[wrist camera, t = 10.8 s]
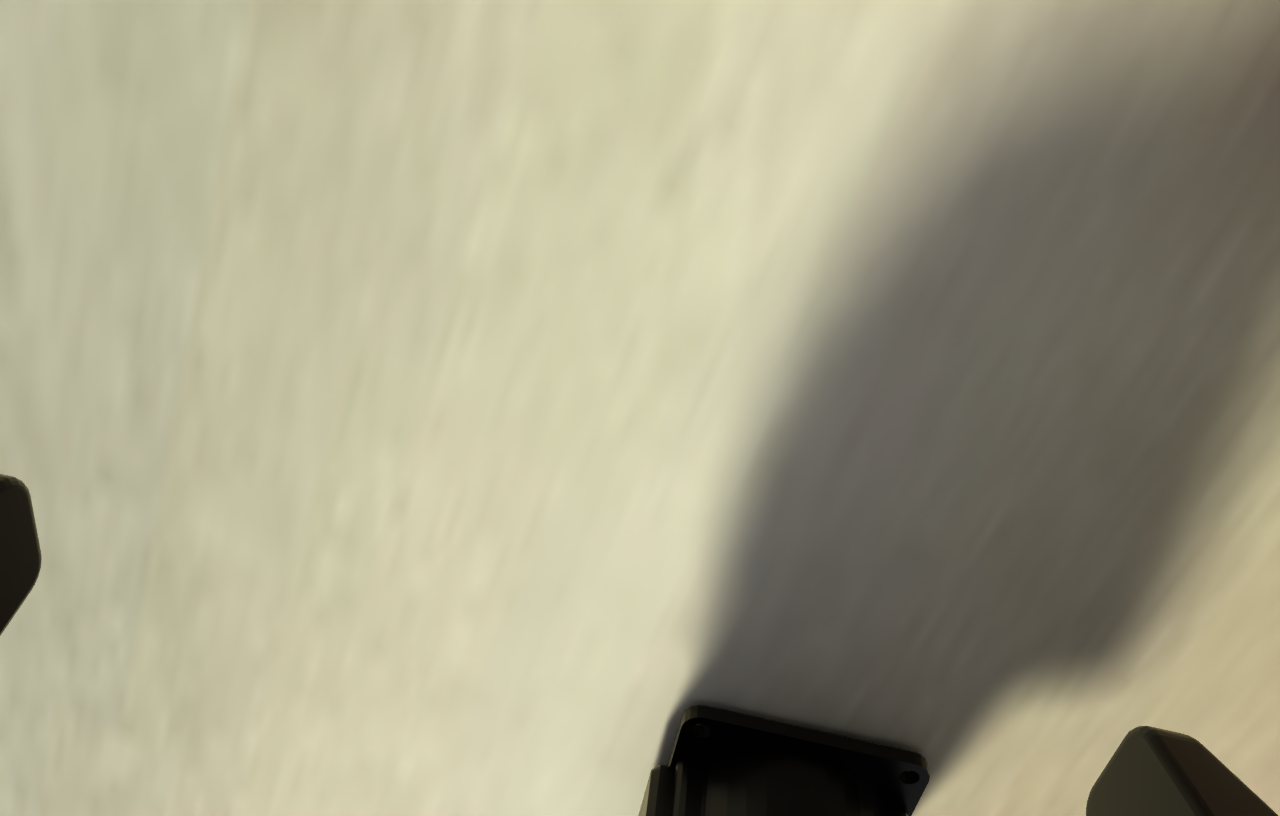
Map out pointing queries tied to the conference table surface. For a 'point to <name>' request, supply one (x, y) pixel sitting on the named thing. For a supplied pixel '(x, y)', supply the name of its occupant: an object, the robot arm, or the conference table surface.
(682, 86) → the conference table surface
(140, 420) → the conference table surface
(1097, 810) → the robot arm
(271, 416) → the conference table surface
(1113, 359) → the conference table surface
